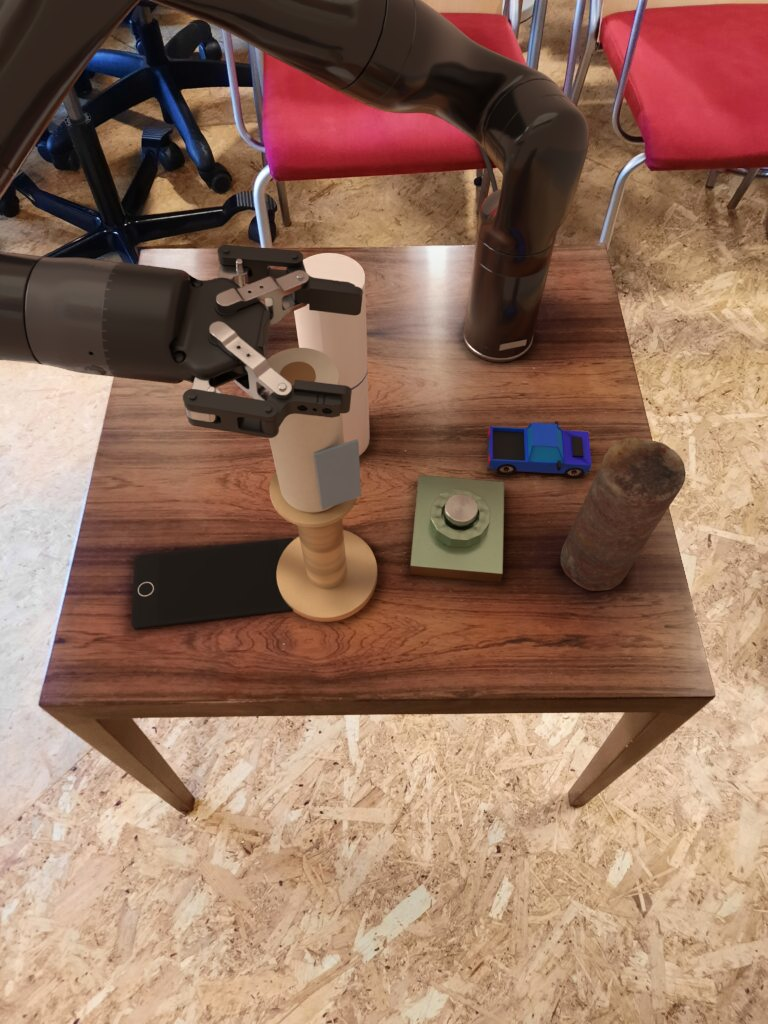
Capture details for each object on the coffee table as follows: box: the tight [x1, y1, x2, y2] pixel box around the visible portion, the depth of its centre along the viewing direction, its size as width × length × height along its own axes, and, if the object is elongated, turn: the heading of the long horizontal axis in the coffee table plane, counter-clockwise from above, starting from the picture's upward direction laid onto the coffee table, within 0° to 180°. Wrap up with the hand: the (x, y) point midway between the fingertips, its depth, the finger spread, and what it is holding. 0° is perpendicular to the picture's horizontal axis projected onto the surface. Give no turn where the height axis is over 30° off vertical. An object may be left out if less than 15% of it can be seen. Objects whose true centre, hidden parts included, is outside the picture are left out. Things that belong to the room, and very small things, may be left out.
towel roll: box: [266, 347, 362, 512], centre depth 59 cm, size 6×6×14 cm
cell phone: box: [130, 537, 296, 631], centre depth 81 cm, size 9×18×1 cm, turn 97°
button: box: [444, 494, 478, 530], centre depth 80 cm, size 4×4×2 cm
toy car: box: [486, 421, 592, 480], centre depth 87 cm, size 7×12×5 cm, turn 86°
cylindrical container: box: [293, 252, 371, 457], centre depth 80 cm, size 7×7×25 cm
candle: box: [560, 436, 687, 592], centre depth 73 cm, size 8×7×20 cm
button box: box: [409, 474, 505, 584], centre depth 82 cm, size 12×10×4 cm
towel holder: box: [268, 470, 378, 623], centre depth 73 cm, size 11×11×18 cm
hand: (356, 349), depth 50 cm, fingers open, 8 cm apart
